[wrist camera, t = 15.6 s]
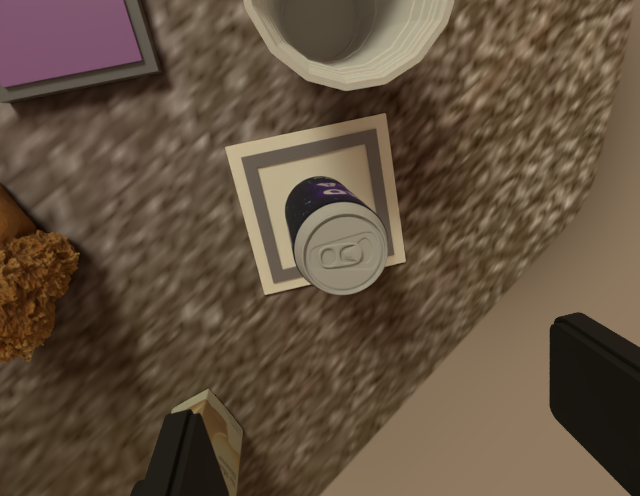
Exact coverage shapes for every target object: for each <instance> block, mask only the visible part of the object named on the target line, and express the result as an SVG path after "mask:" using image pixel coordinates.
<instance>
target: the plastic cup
mask: <svg viewBox="0 0 640 496" xmlns="http://www.w3.org/2000/svg"><path fill="white" fill-rule="evenodd" d="M454 1H455V0H244V5H245V10H246V11H247V13H248V15H249V16H250V18H251V20H252V21H253V23H254V25H255V26H256V28H257V30H258V32H259V33H260V35H261V37H262V38H263V40H264V42H265V43H266V45H267V47H268V48H269V50H270V52H271V53H272V54H273V55H275V56H276V57H277V58H278V59H280V60H281V61H282V62H283V63H285V64H286V65H287V66H289V67H290V68H291V69H292V70H294V71H295V72H296V73H297V74H299V75H300V76H301V77H302V78H304V79H305V80H306V81H310V82H314V83H317V84H321V85H325V86H329V87H332V88H336V89H340V90H344V91H350V90H355V89H361V88H367V87H373V86H378V85H384V84H387V83H388V82H390V81H391V80H393V79H394V78H396V77H397V76H399V75H400V74H402V73H403V72H405V71H406V70H408V69H409V68H411V67H412V66H414V65H415V64H417V63H419V62H420V61H421V60H422V59H423V57H424V56H425V54H426V53H427V52H428V50H429V49H430V47H431V46H432V45H433V43H434V42H435V40H436V39H437V38H438V36H439V35H440V33H441V32H442V31H443V29H444V28H445V27H446V25H447V24H448V20H449V17H450V14H451V11H452V7H453V4H454Z"/></svg>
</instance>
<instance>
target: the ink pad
mask: <svg viewBox="0 0 640 496" xmlns="http://www.w3.org/2000/svg"><path fill="white" fill-rule="evenodd" d="M159 73H163V72H162V69H161V65H160V62H159V59H158V55H157V52H156V49H155V45H154V42H153V39H152V36H151V32H150V29H149V26H148V22H147V19H146V16H145V12H144V9H143V6H142V2H141V0H0V103H13V102H18V101H23V100H28V99H33V98H38V97H43V96H48V95H53V94H58V93H63V92H68V91H73V90H79V89H84V88H89V87H94V86H99V85H104V84H109V83H114V82H119V81H124V80H129V79H134V78H139V77H144V76H149V75H154V74H159Z"/></svg>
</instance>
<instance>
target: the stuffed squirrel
mask: <svg viewBox="0 0 640 496" xmlns="http://www.w3.org/2000/svg"><path fill="white" fill-rule="evenodd" d="M68 238H69V237H65V236H62V235H61V234H60V233H55V232H51V233H47V234H46V233H44V232H43V231H39V230H37V229H36V226H35V225H34V223H33V222H32V221H31V220H30V219H29V218H28V217H27V216H26V214H25V213H24V212H23V211H22V210H21V209H20V207H19V206H18V205H17V204H16V203H15V201H14V200H13V199H12V198H11V197H10V196H9V194H8V193H7V192H6V191H5V190H4V188H3V186H2V185H1V184H0V362H4V363H6V364H7V363H8V364H9V361H10V360H9V359H10V358H11V359H13V360H14V359H15V356H19V357H20V358H22V359H25V360H26V362H27V363H28V362H31V360H32V355H33V352H34V349H35V347H37V348H39V345H42V346H44V344H43V341H45V340H44V339H45V338H48V337H49V336H51V332H52V331H53V328H54V324H55V321H54V320H55V319H54V317H55V305H54V302H55V301H56V299H58V298H59V299H60V298H61V297H62V296H63V295H64V294H66V291H67V290H68V289H69V285H68V283H69V282H70V280H71V278H70V274H73V273H74V272H75V271H76V269H78V267H77V264H78V260H79V256H78V255H80V253H76V251H75V249H74V246H73V245H71V243H70V242H69V240H68Z"/></svg>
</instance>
